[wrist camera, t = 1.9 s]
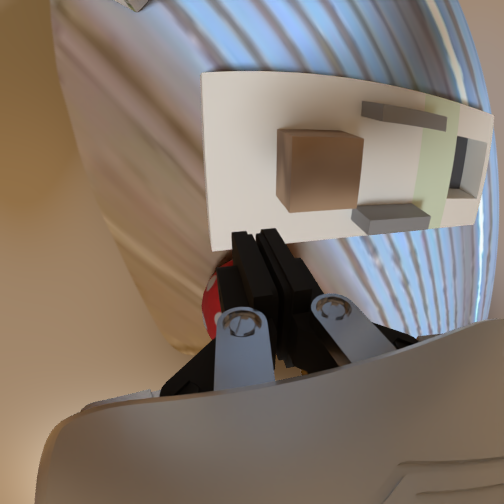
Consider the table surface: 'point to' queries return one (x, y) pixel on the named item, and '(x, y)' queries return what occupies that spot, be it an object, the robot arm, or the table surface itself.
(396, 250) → the table surface
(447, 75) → the table surface
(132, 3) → the syrup box
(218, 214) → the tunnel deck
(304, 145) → the walnut block
